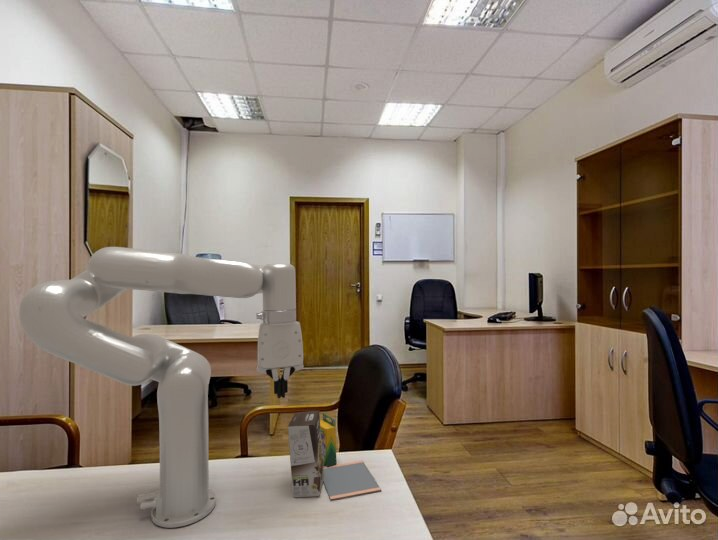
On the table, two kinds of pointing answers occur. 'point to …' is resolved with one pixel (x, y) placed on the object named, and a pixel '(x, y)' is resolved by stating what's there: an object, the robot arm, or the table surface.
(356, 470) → the felt mat
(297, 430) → the coffee box
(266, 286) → the robot arm
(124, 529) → the table surface
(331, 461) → the crayon box
